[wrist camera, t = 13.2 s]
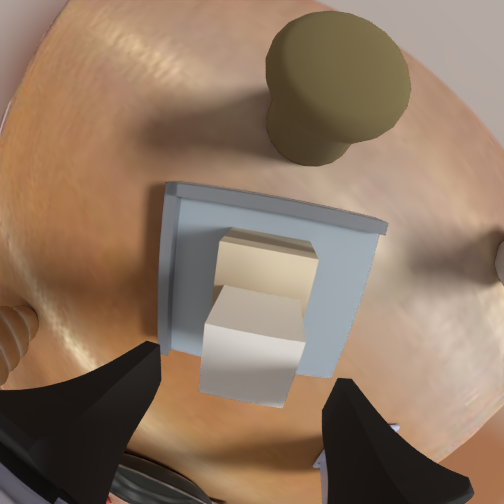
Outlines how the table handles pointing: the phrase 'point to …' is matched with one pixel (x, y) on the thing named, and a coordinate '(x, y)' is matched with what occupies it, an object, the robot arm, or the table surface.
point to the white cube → (251, 347)
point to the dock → (273, 222)
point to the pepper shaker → (332, 86)
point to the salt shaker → (500, 262)
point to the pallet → (265, 265)
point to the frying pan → (153, 484)
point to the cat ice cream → (15, 336)
